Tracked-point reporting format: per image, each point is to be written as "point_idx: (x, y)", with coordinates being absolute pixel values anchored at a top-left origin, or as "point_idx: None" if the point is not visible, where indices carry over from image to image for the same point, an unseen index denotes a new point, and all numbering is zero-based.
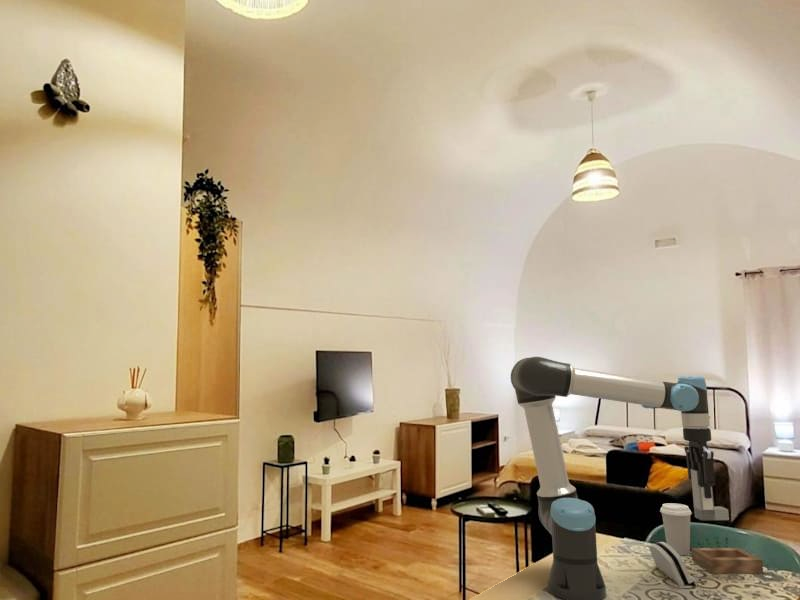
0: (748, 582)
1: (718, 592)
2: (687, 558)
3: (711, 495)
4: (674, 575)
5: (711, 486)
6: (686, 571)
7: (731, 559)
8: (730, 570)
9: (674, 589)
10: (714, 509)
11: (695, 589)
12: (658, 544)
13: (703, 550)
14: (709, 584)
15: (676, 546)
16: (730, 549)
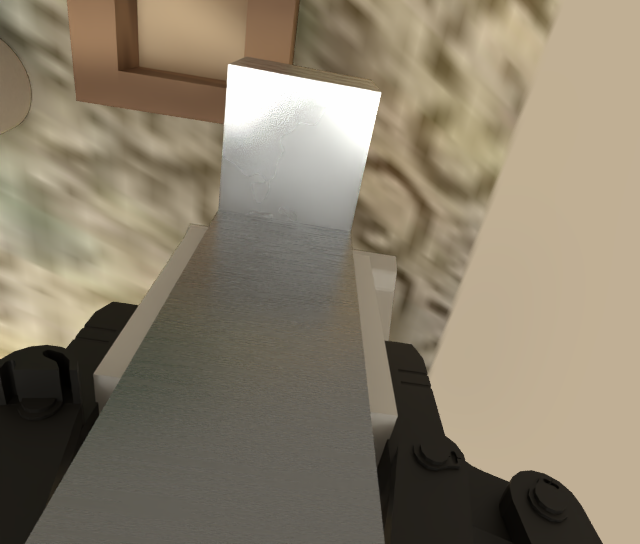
0: (413, 30)
1: (470, 230)
2: (67, 91)
3: (381, 336)
4: None
5: (447, 444)
6: (391, 312)
7: (284, 10)
8: (295, 30)
9: (406, 340)
10: (347, 226)
11: (423, 284)
12: None
13: (117, 58)
14: (394, 210)
15: (3, 125)
16: None
